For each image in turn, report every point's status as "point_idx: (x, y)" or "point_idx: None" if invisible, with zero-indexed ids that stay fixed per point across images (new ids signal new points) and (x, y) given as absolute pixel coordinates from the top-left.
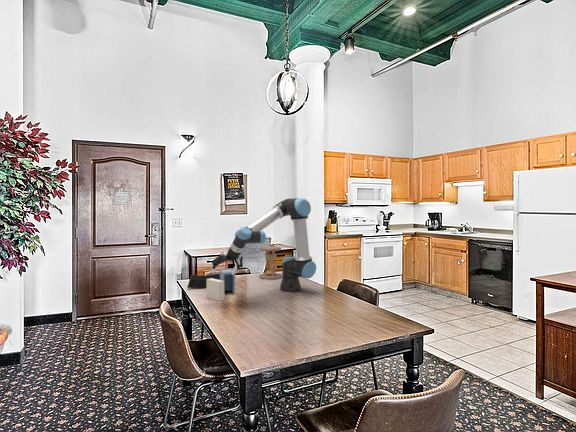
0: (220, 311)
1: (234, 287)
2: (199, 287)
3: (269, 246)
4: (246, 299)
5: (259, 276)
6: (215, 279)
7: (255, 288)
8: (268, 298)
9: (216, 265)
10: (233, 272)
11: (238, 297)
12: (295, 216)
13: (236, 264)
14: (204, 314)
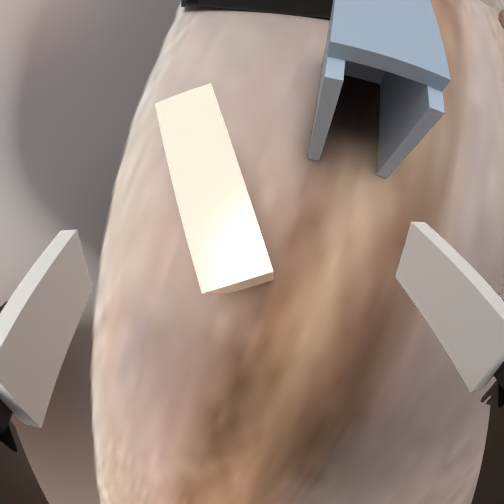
0: (173, 477)
1: (396, 158)
2: (234, 6)
3: None
4: (402, 337)
5: (500, 16)
6: (217, 149)
7: (495, 130)
8: None
9: (8, 439)
10: (418, 289)
11: (380, 265)
12: None
13: (478, 486)
14: (102, 466)
